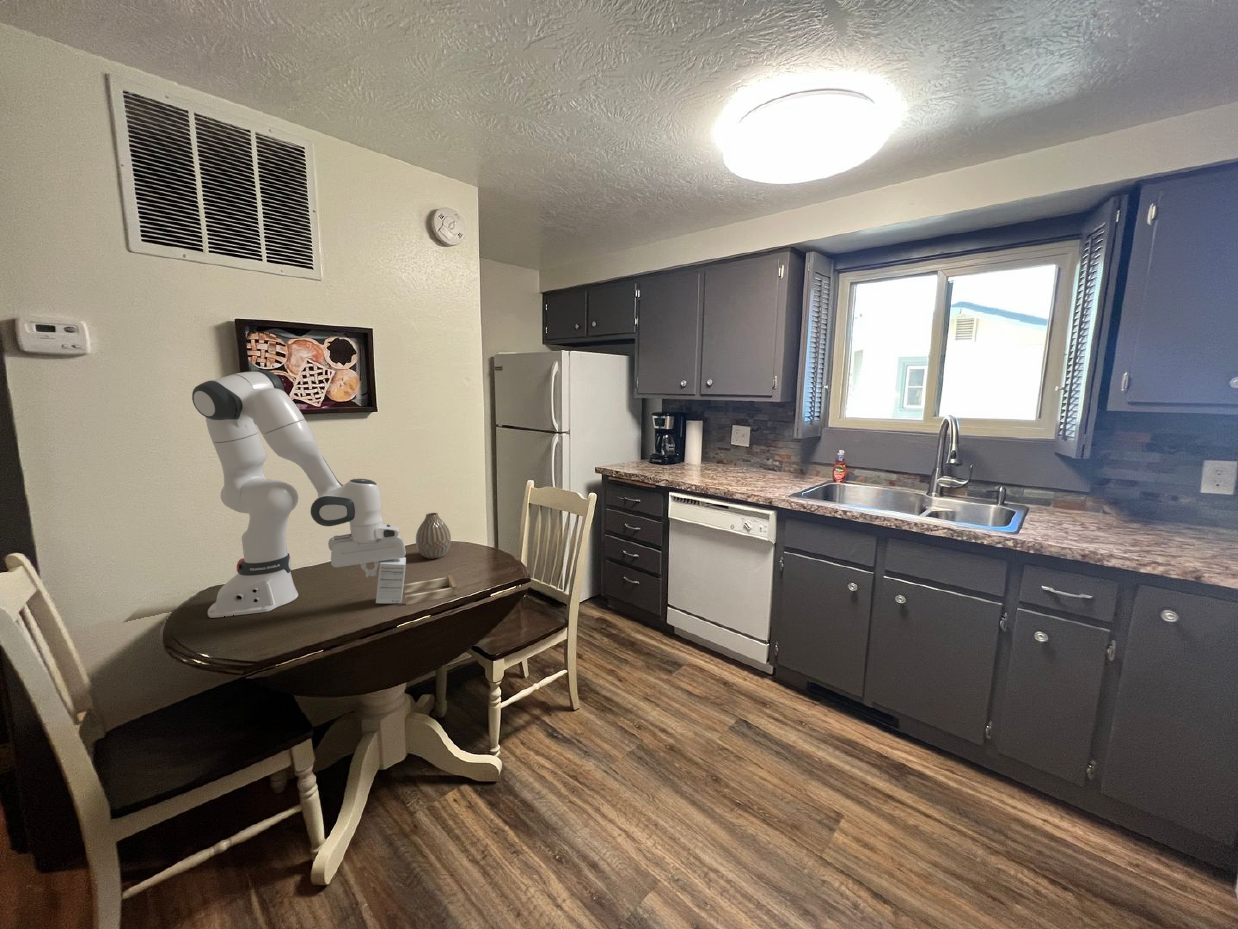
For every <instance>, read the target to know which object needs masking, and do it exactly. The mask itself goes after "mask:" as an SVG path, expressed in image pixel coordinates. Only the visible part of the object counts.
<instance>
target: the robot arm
mask: <svg viewBox="0 0 1238 929" xmlns="http://www.w3.org/2000/svg"><path fill="white" fill-rule="evenodd" d="M191 395H192V396H191V400H192V403H193V405H194V407H195V409H196V410H197V411H198V413H199V414H201V416H203V417H205V422H206V427H207V430H208V434H209V436H210V437H209V438H210V439H211V442H212V445H213V447H214V450H215V451H216V454H217V456H218V459H219V462H220V464H221V467H222V472H223V473H222V474H223V487H222V488H221V492H220V499H221V500H220V501H221V502H222V503H223V505H224V506H225V507H226V508H228V509H230V510H233V511H235V512H238V513H242V514H248V515H249V522H248V526H247V529H246V530H245V531H244V532H243V533H242V536H241V543H242V545H241V546H242V551H243V552H242V553H243V557H242V558H240V559H239V560H238V561H237V564H236V572H237V574H235V575H234V576H233V577H232V578H230V580H228V581H227V582H226V583H225V584H224V585H222V586H221V588H220V589H219V590H218V592H217V596H216V601H215V602H214V603H213V604H211V605H210V607H209V608H208V609H207V616H208V617H209V618H211V619H213V618H223V617H224V616H225V617H232V616H233V615H234V616H241V615H249V614H259V613H268V612H271V611H272V610H274V609H276V608H278V607H281V606H283V605H286V604H289V603H291V602H293V601H295V600H296V599H297V598H298V597H299V593H298V591H297V588H296V586H295V582H294V580H293V577H292V576H293V575H292V573H291V571H292V560H291V556H290V553H289V551H288V542H287V526H288V520H289V518H290V514H291V513H292V512H293V510H294V509H295V508H296V506H297V505H298V502H299V492H298V490H297V488H295V487H294V486H293V485H291V484H289V483H287V482H284V481H282V480H278V479H270V478H266V476H265V474H264V462H265V461H266V460H267V456H268V455H267V451H266V450H265V446H264V444H263V441H262V438H263V439H264V441H265V442H266V443H267V445H268V447H269V448H270V449H271V450H272V451H273V452H274V453H275V454H276V456H278V457H280V458H281V459H285V460H288V461H291V462H293V463H294V464H296V465H298V466H299V468H300V469H301V470H302V471H303V472H304V473H305V475H306V476H307V478H308V480H309V481H310V482H311V484H312V485H313V487H314V489H315V490H316V492H317V498H316V499H315V500H314V501H313V503H312V504H311V506H310V516H311V518H312V520H314V522H315V523H316V524H318V525H320V526H323V527H335V526H339V525H342V524H345V523H349V527H350V533H347V534H342V535H334V536H333V537H330V538H329V539H328V544H327V545H328V550H330V551H331V552H330V553H331V554H330V555H331V556H330V563H331V564H330V565H331V566H332V568H335V569H336V568H341V567H342V568H343V567H350V566H355V565H360V568H361V569H362V570H363V571H364V572H365V577H366V578H369V577H376V576H377V570H378V569H379V566H380V561H385V560H392V559H399V558H404V557H405V556H406V555H407V553H406V546H405V542H404V539H403V538H404V537H402V535H401V534H400V532H401V531H400V527H399V526H398V525H395V524H391V523H384V520H383V517H382V514H381V512H382V506H383V505H382V498H381V497H382V496H381V492H380V488H379V485H378V484H377V483H376V482H375V481H373V480H371V479H368V478H366V479H365V478H352V479H349V481H348V482H346V483H345V484H342V483H341V482H340V480H338V479H337V477H336V475H335V474H334V472H333V471H332V469H331V467H330V465H329V464H328V462H327V461H326V460H325V458H324V456H323V454H322V453H321V451H320V449H319V447H318V446H319V445H318V444H317V441H316V439H315V436H314V434H313V432H312V430H311V428H310V425H309V423H308V422H307V420H306V419H305V416H304V415H303V413H302V412H301V411H300V408H298V406H297V405H296V403H295V402H294V401H293V399H292V398H291V397H290V396H289V395H288V394H287V392H285V387H284V384H283V382H282V380H281V379H280V377H279V376H277V374H276V373H274V372H272V371H270V370H265V369H255V370H254V369H253V370H252V371H244V372H238V373H237V372H236V373H233V374H229V375H227V376H223V377H219V378H216V379H213V380H207V381H203V382H201V383H199V384H197V386H195V387H194V388H193V390H192V394H191ZM258 430H259V431H258ZM259 432H260V433H259ZM260 434H261V435H260ZM261 436H262V438H261ZM369 563H373V564H374V566H373V568H372V569H371V568H370V569H368V567H367V564H369Z"/></svg>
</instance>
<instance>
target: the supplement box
mask: <svg viewBox="0 0 1238 929" xmlns="http://www.w3.org/2000/svg"><path fill="white" fill-rule="evenodd" d="M406 563H407V557H405V556H404V558H399V559H392V560H385V561H379V566H378V577H377V578H378V579H377V585H376V586H377V588H376V595H375V604H402V601H403V594H404V591H403V585H404V584H405V583H404V582H405V576H406V575H405V573H406V566H407V564H406Z"/></svg>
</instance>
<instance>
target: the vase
mask: <svg viewBox="0 0 1238 929" xmlns="http://www.w3.org/2000/svg"><path fill="white" fill-rule="evenodd" d="M416 531H417V532H416V534H415V546H416V549H417V551H418V552H419V554H420V555H421V556H423V557H424V558H426V559H427V558H428V559H427V560H435V559H434V558H437V559H440V558H443V557H444V556H445V555H446V554H447V553H448V551H449V549H450V547H451V543H452V537H451V531H450V530H449V527H448V526H447V524H446V523H445V522H444V521H443V520H442V519H441V518H440V516H439V513H438V512H428V513H426V514H425V517H424V519H423V521H422V522H421V524H420V526H419V527H418V529H417V530H416ZM442 556H443V557H442Z"/></svg>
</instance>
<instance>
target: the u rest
mask: <svg viewBox="0 0 1238 929" xmlns="http://www.w3.org/2000/svg"><path fill="white" fill-rule="evenodd" d="M447 586H449V587H447ZM440 587H441V588H442V587H447V588H442V589H435V590H430V591H425V592H419V591H423V589H425V590H429V589H434V588H440ZM417 591H418V592H419V593H412V592H417ZM406 593H408V594H407V595H405V597H404V598H405V605H408V606H409V605H412V604H418V603H417V602H419V603H422V601H424V602H427V601H428V602H429V601H434V600H439V599H444V598H451V597H455V596H454V595H456V596H458V585H457V584H456V582H455V579H454V578H453V576H452V574H450V575H449V574H448V575H447V576H446V577H441V578H440V577H439V578H435V579H428V580H422V581H416V582H410V583H404V585H403V594H406ZM409 593H412V594H409Z"/></svg>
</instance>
